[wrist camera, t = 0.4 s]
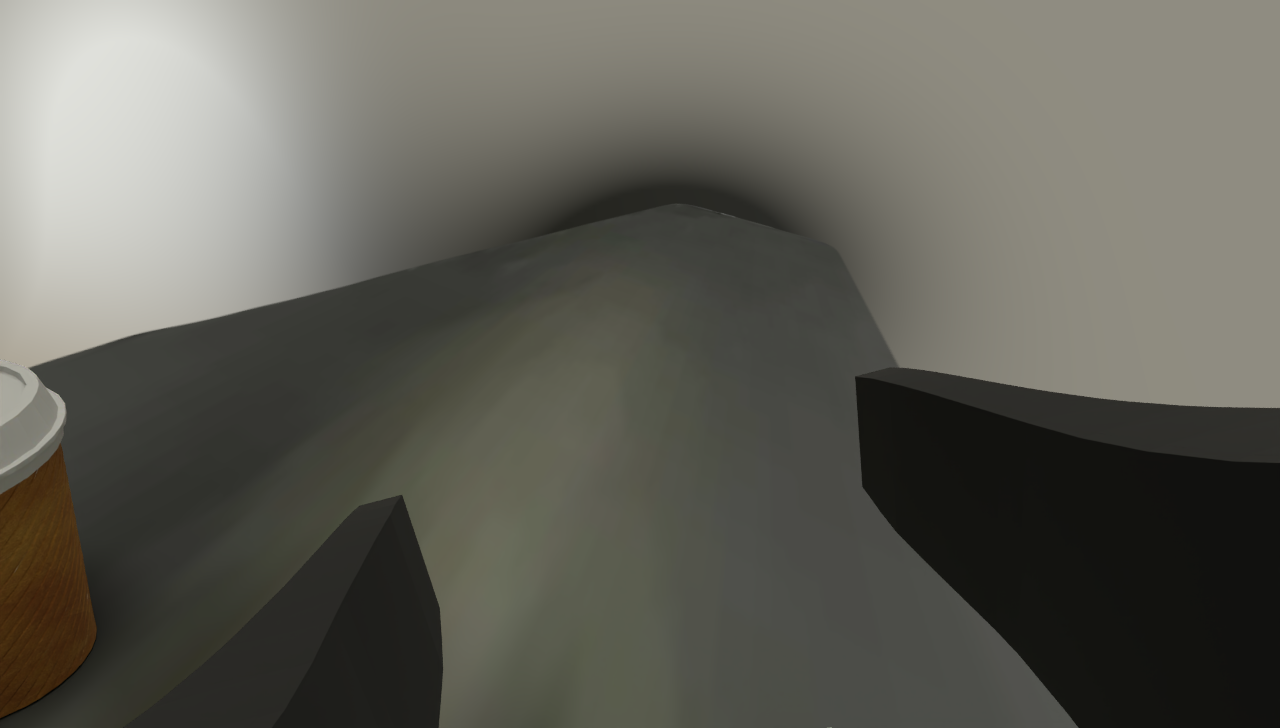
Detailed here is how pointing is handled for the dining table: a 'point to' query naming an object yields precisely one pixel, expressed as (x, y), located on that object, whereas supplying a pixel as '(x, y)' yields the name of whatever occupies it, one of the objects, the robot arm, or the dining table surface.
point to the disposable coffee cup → (37, 547)
